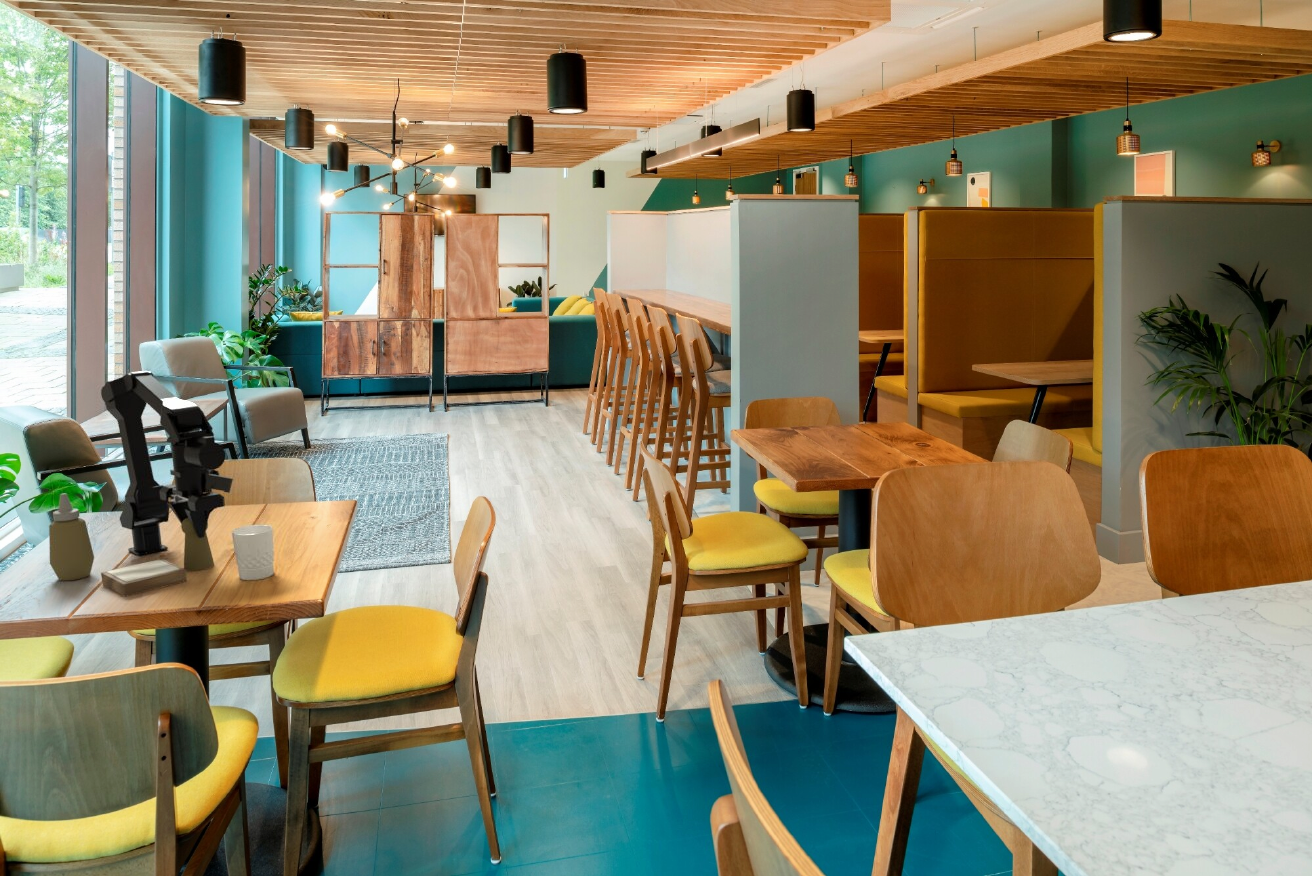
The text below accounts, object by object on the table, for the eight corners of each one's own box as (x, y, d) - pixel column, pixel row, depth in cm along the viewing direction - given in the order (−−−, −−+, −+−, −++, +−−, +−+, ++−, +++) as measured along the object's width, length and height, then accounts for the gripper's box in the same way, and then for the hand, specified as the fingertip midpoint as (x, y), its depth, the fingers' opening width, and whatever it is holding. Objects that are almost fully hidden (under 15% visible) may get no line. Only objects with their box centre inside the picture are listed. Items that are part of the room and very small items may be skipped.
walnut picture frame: (102, 584, 200) (100, 571, 199) (162, 569, 208) (161, 557, 208) (125, 596, 192) (123, 583, 191) (186, 581, 200) (185, 568, 200)
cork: (202, 571, 207) (197, 521, 205) (177, 570, 208) (171, 520, 206) (220, 563, 212) (215, 514, 210) (195, 561, 214) (190, 513, 212)
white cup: (284, 571, 206) (280, 526, 204) (258, 583, 198) (254, 535, 197) (254, 568, 208) (250, 523, 207) (227, 579, 201) (223, 533, 199)
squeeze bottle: (50, 585, 199) (38, 500, 196) (53, 574, 206) (42, 492, 203) (95, 579, 203) (85, 495, 200) (97, 568, 210) (86, 487, 207)
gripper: (245, 463, 206) (252, 534, 209) (206, 453, 218) (213, 520, 221) (192, 472, 198) (200, 546, 201) (155, 461, 210) (163, 531, 213)
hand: (195, 535), depth 209 cm, fingers closed on cork, 5 cm apart
